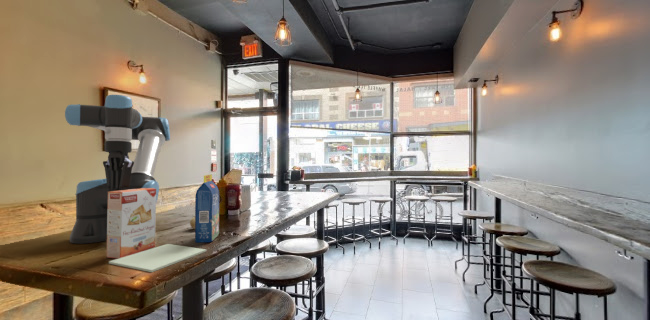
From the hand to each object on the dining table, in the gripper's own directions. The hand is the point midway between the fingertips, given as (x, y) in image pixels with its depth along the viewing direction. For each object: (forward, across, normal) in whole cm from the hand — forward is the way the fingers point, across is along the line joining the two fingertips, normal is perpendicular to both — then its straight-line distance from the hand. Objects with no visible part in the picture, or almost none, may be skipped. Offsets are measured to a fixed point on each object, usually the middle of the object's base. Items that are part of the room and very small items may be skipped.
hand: (117, 209), depth 99 cm
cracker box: (+14, +7, +1) cm, 16 cm away
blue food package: (+14, +16, +24) cm, 32 cm away
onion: (+14, +1, +35) cm, 37 cm away
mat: (+14, +20, +1) cm, 24 cm away
